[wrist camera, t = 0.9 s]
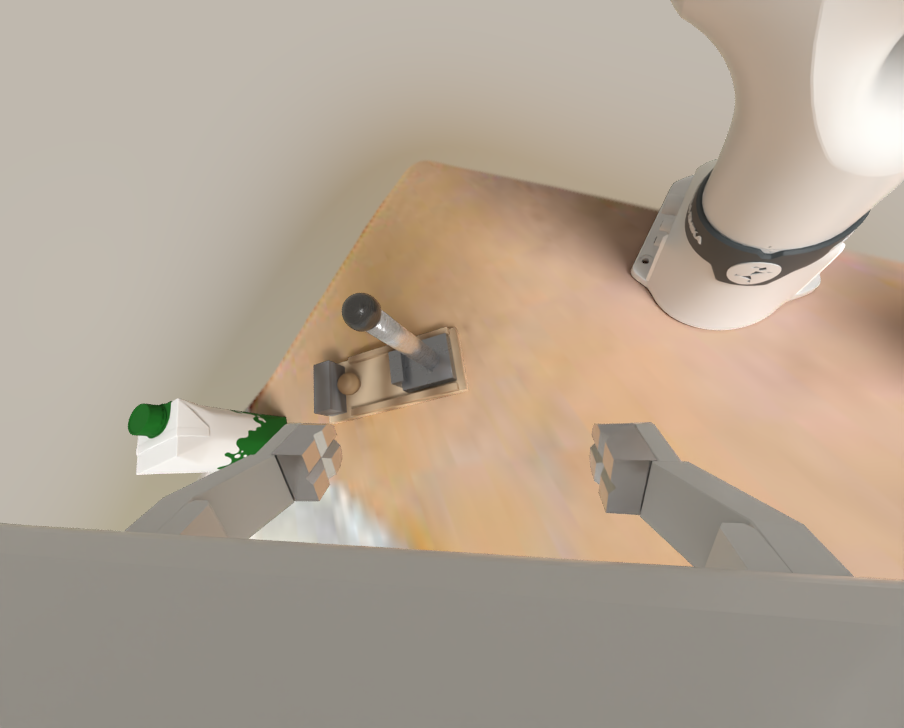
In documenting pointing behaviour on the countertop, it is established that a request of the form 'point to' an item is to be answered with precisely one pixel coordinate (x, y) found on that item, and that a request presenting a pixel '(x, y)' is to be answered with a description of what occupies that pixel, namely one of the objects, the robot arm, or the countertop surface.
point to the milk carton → (196, 436)
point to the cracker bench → (376, 383)
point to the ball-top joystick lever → (402, 346)
